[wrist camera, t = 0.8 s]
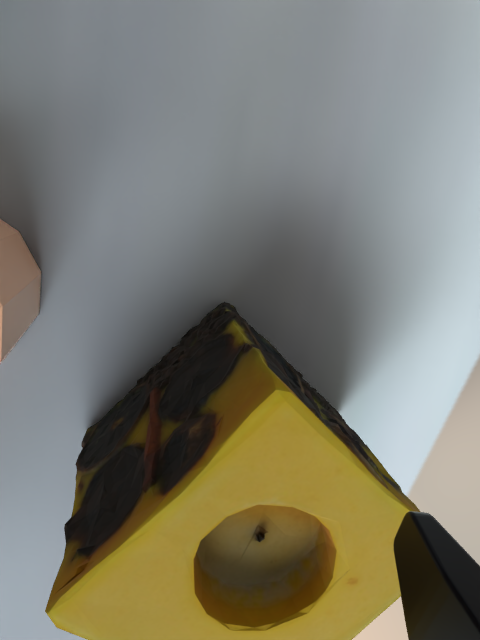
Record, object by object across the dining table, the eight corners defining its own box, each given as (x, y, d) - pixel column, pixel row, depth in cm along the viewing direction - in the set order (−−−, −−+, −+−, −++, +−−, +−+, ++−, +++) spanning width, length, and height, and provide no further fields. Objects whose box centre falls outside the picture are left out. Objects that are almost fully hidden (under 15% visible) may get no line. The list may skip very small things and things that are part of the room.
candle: (216, 532, 25) (257, 737, 16) (77, 435, 22) (26, 628, 12) (343, 413, 25) (464, 555, 15) (222, 293, 21) (283, 384, 12)
